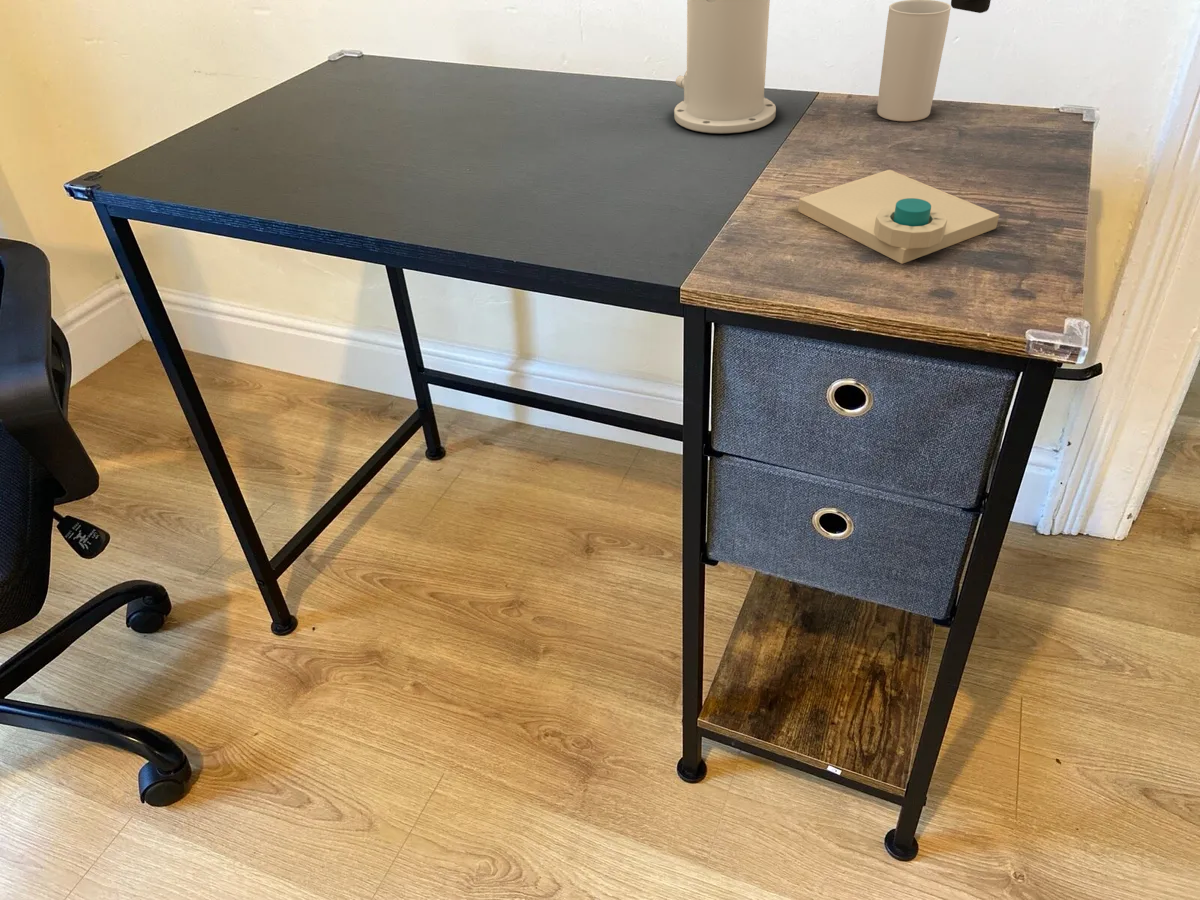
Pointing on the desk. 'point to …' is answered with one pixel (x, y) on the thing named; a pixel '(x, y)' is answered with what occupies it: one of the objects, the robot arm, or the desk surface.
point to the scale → (871, 212)
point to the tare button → (912, 212)
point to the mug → (912, 58)
